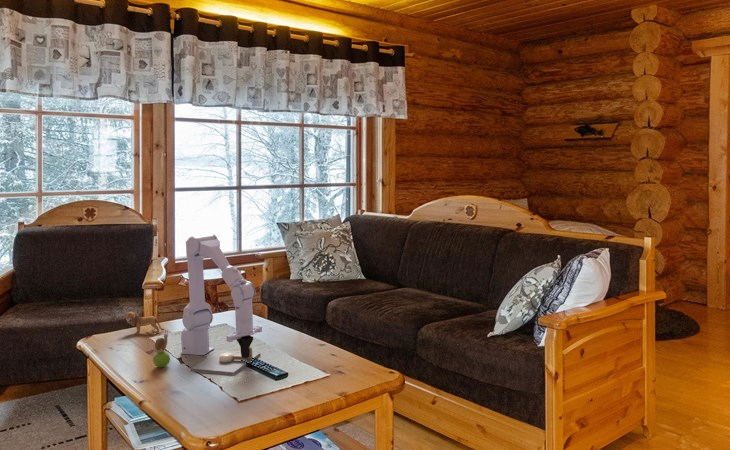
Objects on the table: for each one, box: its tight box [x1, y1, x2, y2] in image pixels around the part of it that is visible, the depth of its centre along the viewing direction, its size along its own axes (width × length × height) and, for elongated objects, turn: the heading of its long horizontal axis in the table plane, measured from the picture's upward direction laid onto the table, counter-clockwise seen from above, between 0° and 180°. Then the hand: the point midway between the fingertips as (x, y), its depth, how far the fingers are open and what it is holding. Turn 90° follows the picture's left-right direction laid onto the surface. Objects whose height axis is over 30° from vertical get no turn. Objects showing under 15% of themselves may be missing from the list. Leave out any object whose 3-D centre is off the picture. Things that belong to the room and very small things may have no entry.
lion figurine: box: [125, 311, 165, 335], centre depth 253 cm, size 15×5×9 cm, turn 100°
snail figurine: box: [152, 329, 171, 368], centre depth 211 cm, size 5×6×12 cm
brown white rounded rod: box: [219, 346, 253, 362], centre depth 214 cm, size 12×5×4 cm, turn 83°
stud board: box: [190, 349, 261, 376], centre depth 214 cm, size 18×20×1 cm
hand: (245, 357), depth 212 cm, fingers closed, pressing on brown white rounded rod
